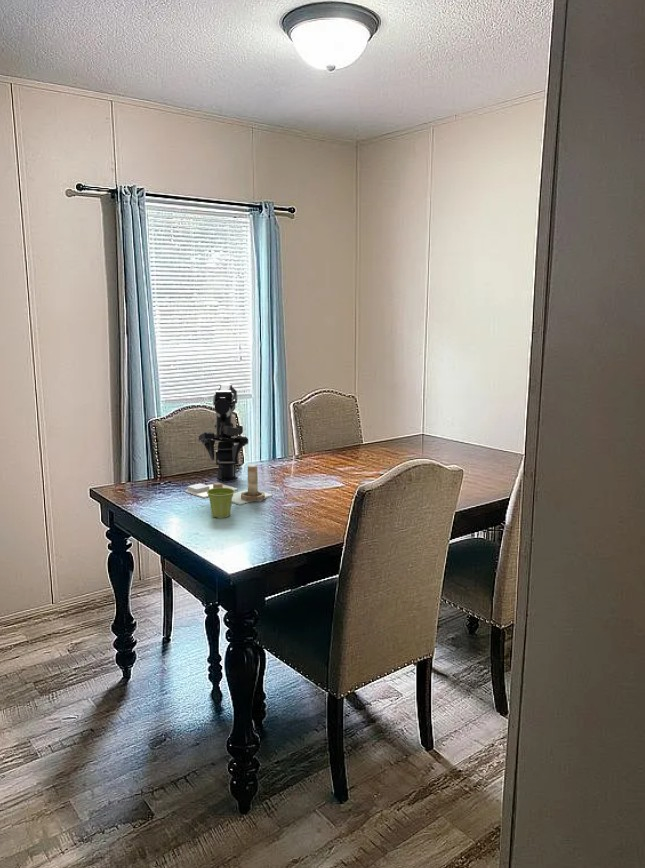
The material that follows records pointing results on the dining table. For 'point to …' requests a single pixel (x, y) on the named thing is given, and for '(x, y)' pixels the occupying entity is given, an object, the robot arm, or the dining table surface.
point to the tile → (204, 494)
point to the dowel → (252, 481)
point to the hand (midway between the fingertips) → (223, 461)
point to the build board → (238, 497)
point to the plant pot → (220, 501)
